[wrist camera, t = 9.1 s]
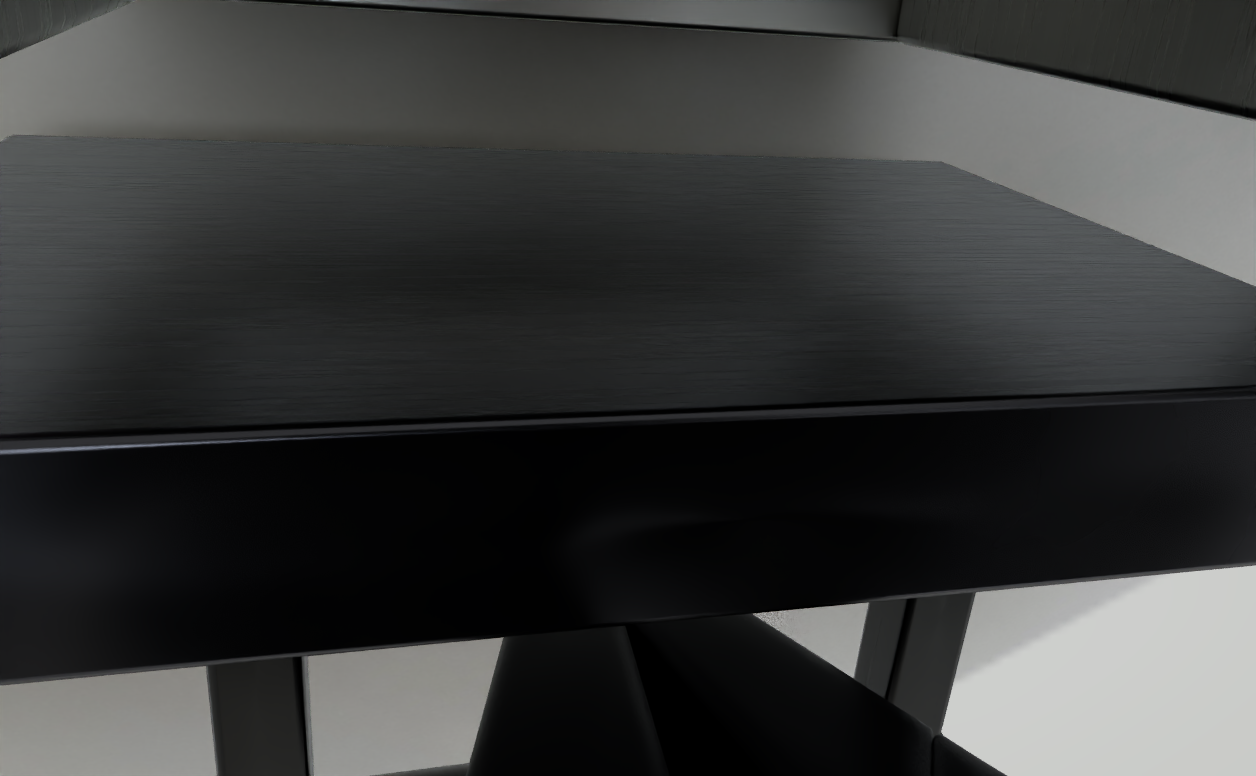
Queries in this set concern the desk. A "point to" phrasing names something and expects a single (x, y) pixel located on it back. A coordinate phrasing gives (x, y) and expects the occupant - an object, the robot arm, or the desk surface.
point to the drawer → (598, 379)
